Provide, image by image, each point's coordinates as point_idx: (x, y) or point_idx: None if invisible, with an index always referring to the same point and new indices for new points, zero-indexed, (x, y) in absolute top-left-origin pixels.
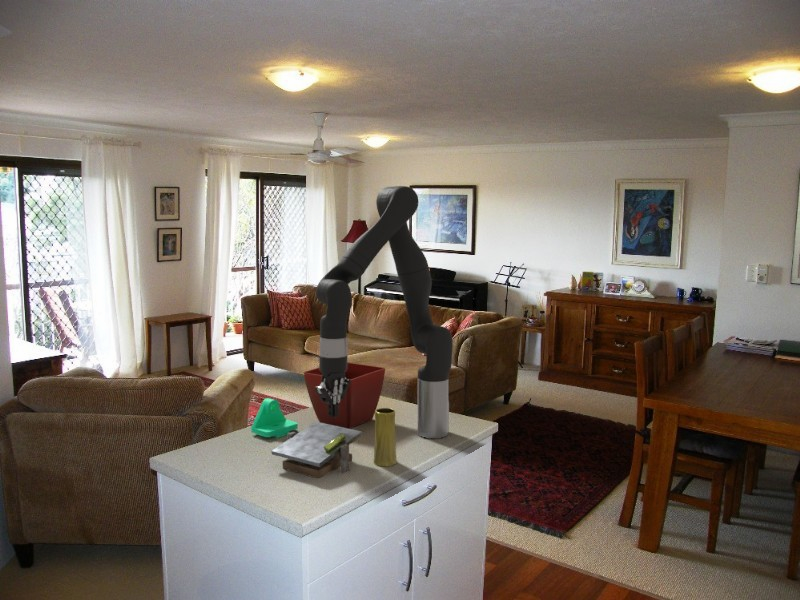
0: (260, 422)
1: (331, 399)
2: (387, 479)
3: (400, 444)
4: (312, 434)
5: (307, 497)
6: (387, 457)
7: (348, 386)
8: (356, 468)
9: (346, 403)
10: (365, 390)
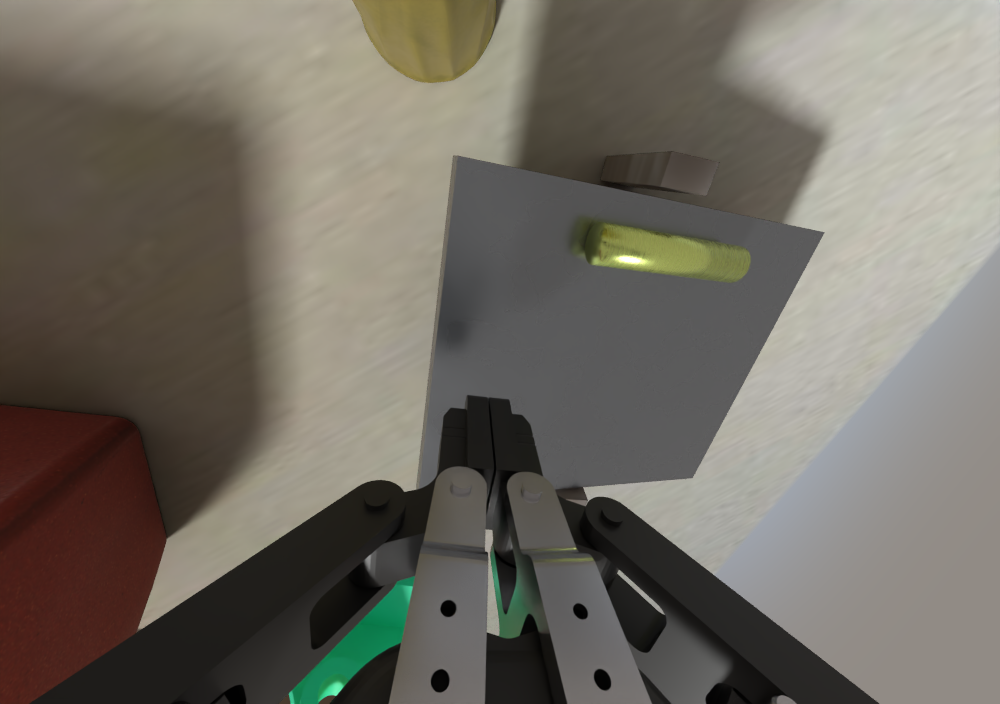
0: (390, 642)
1: (605, 532)
2: None
3: (90, 39)
4: (552, 431)
5: (895, 189)
6: None
7: (155, 629)
8: (564, 137)
9: (33, 525)
10: None
